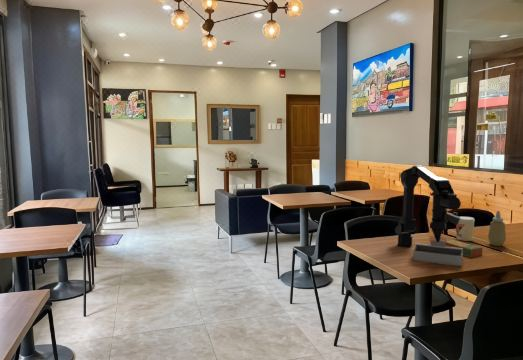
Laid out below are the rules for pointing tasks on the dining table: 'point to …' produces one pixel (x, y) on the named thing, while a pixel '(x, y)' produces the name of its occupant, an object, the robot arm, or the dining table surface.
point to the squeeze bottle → (497, 231)
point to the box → (438, 255)
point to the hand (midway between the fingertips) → (438, 240)
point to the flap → (438, 243)
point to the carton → (465, 248)
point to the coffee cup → (465, 228)
